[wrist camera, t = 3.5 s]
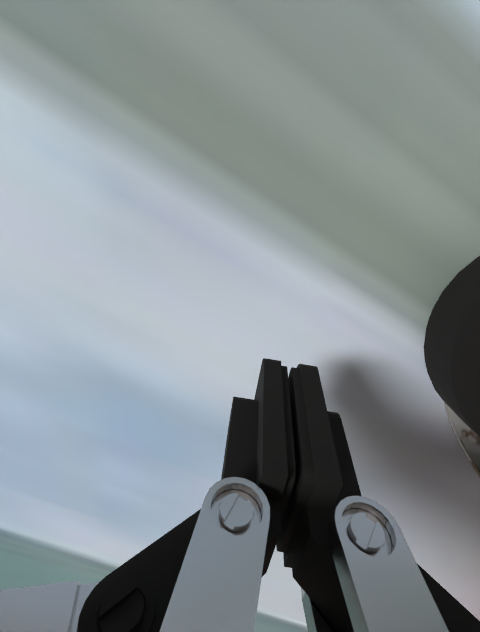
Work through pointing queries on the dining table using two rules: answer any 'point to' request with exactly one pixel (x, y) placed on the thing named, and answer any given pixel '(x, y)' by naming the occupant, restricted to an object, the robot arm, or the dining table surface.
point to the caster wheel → (458, 356)
